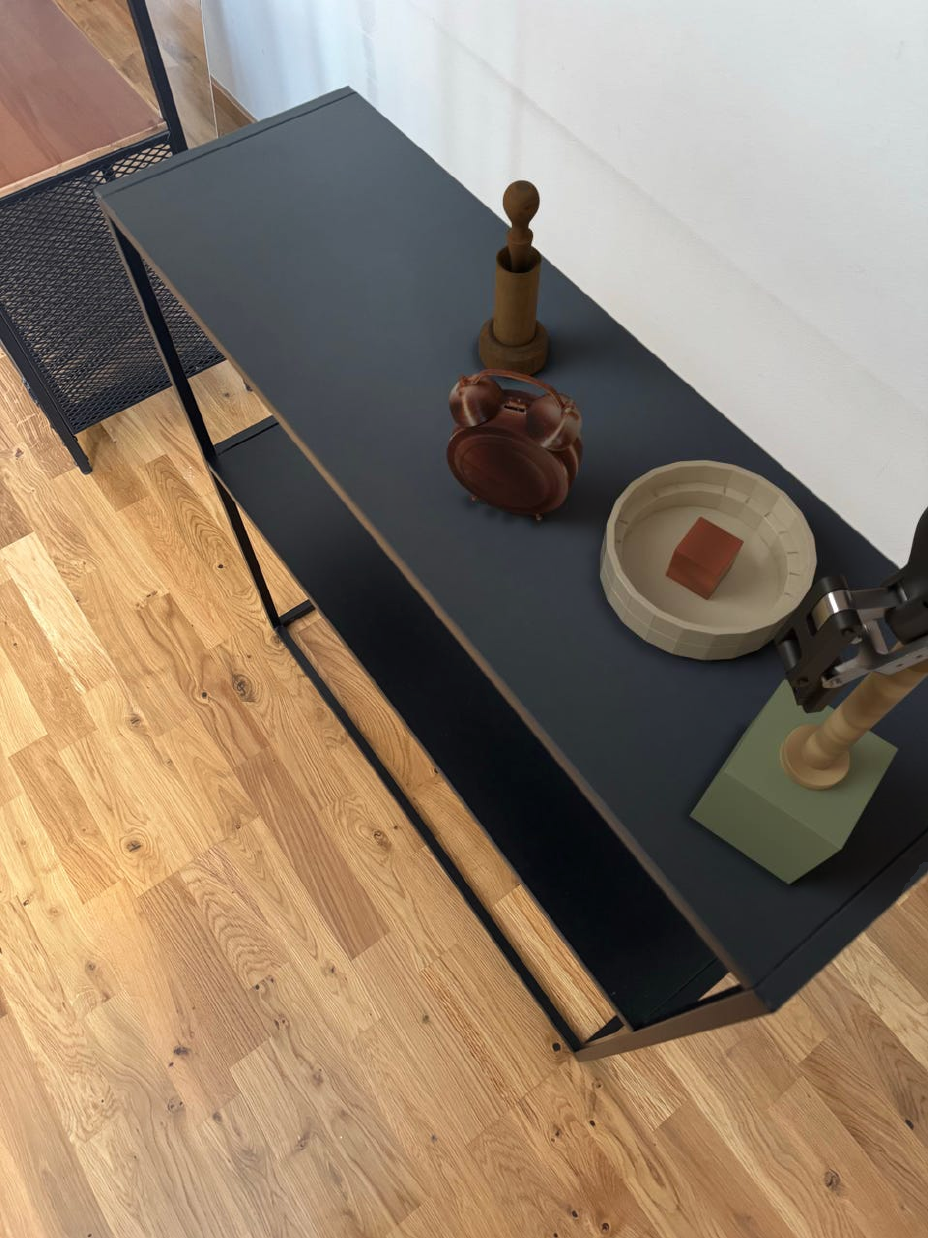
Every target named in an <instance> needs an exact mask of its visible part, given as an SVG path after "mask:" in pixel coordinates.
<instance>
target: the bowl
mask: <svg viewBox="0 0 928 1238" xmlns="http://www.w3.org/2000/svg"><path fill="white" fill-rule="evenodd" d="M699 517H702V518H704V519H706V520H708V521H709V522H711V523H713V524H715V525H716V526H718V527H720V528H722V529H723V530H725V531H727V532H729V533H730V534H732V535H734V536H736V537H737V538H739V539H741V540H743V541H744V543H743V545H742V547H741V549H740V551H739V553H738V555H737V557H736V559H735V561H734V564H733V566H732V568H731V569H730V570H729V572H728V573H727V575H726V576H725V577H724V579H723V580H722V581H721V583H720V584H719V585H718V587H717V588H716V589H715V591H714V592H713V594H712V595H711V596H710V598H709V599H708V600H705V599H704V598H702V597H700V596H699V595H697V594H695V593H694V592H692V591H690V590H689V589H687V588H685V587H684V586H682V585H681V584H679V583H677V582H676V581H674V580H672V579H671V578H669V577H667V576H666V572H667V569H668V566H669V564H670V561H671V558H672V555H673V553H674V550H675V548H676V547H677V546H678V544H679V543H680V542H681V540H682V539H683V538H684V537H685V535H686V534H687V533H688V532H689V530H690V529H691V528H692V526H693V525H694V524H695V523H696V521H697V520H698V519H699ZM599 554H600V555H599V578H600V581H601V584H602V588H603V590H604V593H605V596H606V600H607V601H608V603H609V605H610V606H611V608H612V609H613V610H614V612H615V614H616V615H617V616H618V618H619V619H620V621H621V623H623V624H624V625H625V626H627V627H628V628H629V629H630V630H631V631H632V632H634V633H635V634H636V635H638V637H640V638H641V639H642V640H643V641H645V642H646V643H648V644H651V645H653V646H655V647H657V648H659V649H661V650H663V651H664V652H667V653H670V654H671V655H676V656H680V657H684V658H690V659H695V660H699V661H713V660H730V659H731V660H732V659H735V658H738V657H741V656H744V655H747V654H750V653H752V652H755V651H759V650H760V649H761V648H763V647H764V646H765V645H767V644H768V643H770V642H771V641H772V640H774V636H775V635H776V634H777V632H778V631H779V630H780V629H781V627H782V626H783V625H784V623H785V622H786V621H787V620H788V618H789V617H790V616H791V614H792V613H793V612H794V611H795V609H796V608H797V607H798V605H799V604H800V603H801V602H802V600H803V599H804V598H805V596H806V595H807V594H808V593H809V591H810V590H811V589H812V587H813V581H814V576H815V573H816V568H817V565H818V559H817V551H816V543H815V536H814V533H813V532H812V530H811V528H810V525H809V523H808V521H807V519H806V517H805V515H804V513H803V512H802V510H801V509H800V508H799V507H798V506H797V504H795V502H794V501H793V500H792V499H791V498H790V497H789V495H788V494H787V493H786V492H785V491H783V490H782V489H781V488H779V487H778V486H776V485H775V484H774V483H772V482H771V481H769V480H768V479H766V478H765V477H764V476H762V475H760V474H758V473H755V472H753V471H751V470H749V469H746V468H744V467H741V466H738V465H736V464H731V463H725V462H719V461H714V460H709V459H707V460H706V459H701V460H699V459H698V460H683V461H682V460H681V461H680V460H679V461H676V462H672V463H669V464H666V465H662V466H659V467H655V468H653V469H650V470H649V471H648V472H646V473H645V474H643V475H641V476H639V477H638V478H636V479H635V480H633V481H631V482H630V484H629V485H628V486H627V487H626V488H625V489H624V491H623V492H622V493H621V494H620V495H619V496H618V498H617V499H616V500H615V502H614V504H613V507H612V509H611V512H610V515H609V518H608V520H607V523H606V527H605V531H604V536H603V540H602V545H601V548H600V553H599Z"/></svg>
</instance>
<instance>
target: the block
mask: <svg viewBox="0 0 928 1238" xmlns="http://www.w3.org/2000/svg"><path fill="white" fill-rule="evenodd" d="M743 543H744V541H743V540H741V539H739V538H737V537H736V536H734V535H732V534H730V533H729V532H727V531H725V530H723V529H722V528H720V527H718V526H716V525H715V524H713V523H711V522H709V521H708V520H706V519H704V518H702V517H699V519H698V520H697V521H696V523H695V524H694V525H693V526H692V528H691V529H690V530H689V532H688V533H687V534H686V535H685V537H684V538H683V539H682V540H681V542H680V543H679V544H678V546H677V547H676V548H675V550H674V553H673V555H672V558H671V561H670V564H669V566H668V569H667V572H666V576H667V577H669V578H671V579H672V580H674V581H676V582H677V583H679V584H681V585H682V586H684V587H685V588H687V589H689V590H690V591H692V592H694V593H695V594H697V595H699V596H700V597H702V598H704V599H705V600H708V599H709V598H710V596H711V595H712V594H713V592H714V591H715V589H716V588H717V587H718V585H719V584H720V583H721V581H722V580H723V579H724V577H725V576H726V575H727V573H728V572H729V570H730V569H731V568H732V566H733V564H734V561H735V559H736V557H737V555H738V553H739V551H740V549H741V547H742V545H743Z"/></svg>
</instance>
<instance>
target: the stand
mask: <svg viewBox="0 0 928 1238" xmlns="http://www.w3.org/2000/svg"><path fill="white" fill-rule="evenodd" d="M835 709H836V708H833V707H831V706H830V705H829V704H828V705H827V706H826V707H825V708H824V709H823V711H821V712H815V713H805V712H804V710H803V708H802V705H800V706H797V703H796V700H795V697H794V694H793V691H792V688H791V686H790V685H789V682H788V679H787V678H784V679H783V680H782V681H781V683H780V684H779V685H778V687H777V688H776V690H775V691H774V693H773V694H772V695H771V696H770V698H768V700H767V701H766V703H765V704H764V706H763V707H762V709H760V711H759V713H758V714H757V715H756V717H755V718H754V719H753V721H752V722H751V723H750V724H749V726H748V727H747V729H746V730H745V731H744V733H743V734H742V735H741V737H740V739H739V740H738V742H737V743H736V745H735V746H734V748H733V749H732V751H731V752H730V754H729V755H728V757H727V758H726V760H725V761H724V762H723V765H722V766H721V768H720V769H719V771H718V772H717V774H716V775H715V776H714V778H713V779H712V781H711V783H710V784H709V786H708V787H707V789H706V790H705V792H704V794H703V795H702V796H701V798H700V800H698V802H697V804H696V806H695V807H694V808H693V810H692V811H691V813H690V814H689V817H690V818H692V819H693V820H695V822H697V823H699V824H701V826H703V827H705V828H706V829H707V830H709V831H711V832H712V833H713V834H715V835H717V836H718V837H719V838H721V839H722V840H724V841H725V842H726V843H728V844H729V845H731V846H732V847H734V848H735V849H737V850H738V851H739V852H741V853H742V854H743V855H745V856H747V857H748V858H750V859H751V860H753V861H754V862H755V863H757V864H759V865H760V866H761V867H763V868H764V869H766V870H767V871H768V872H770V873H771V874H773V875H774V876H775V877H777V878H779V879H780V880H781V881H783V882H784V883H786V884H787V885H791V884H792V883H794V882H796V881H797V880H798V879H800V878H801V877H803V876H804V875H806V874H807V873H808V872H810V871H812V870H813V869H815V868H816V867H818V866H819V865H820V864H822V863H824V862H825V861H826V860H827V859H829V858H831V857H832V856H834V855H835V854H837V853H839V852H840V851H841V850H842V849H843V848H844V846H845V844H846V842H847V841H848V839H849V837H850V835H851V833H852V832H853V830H854V828H855V826H856V825H857V823H858V821H859V819H860V818H861V816H862V814H863V813H864V811H865V809H866V807H867V805H868V804H869V802H870V800H871V799H872V797H873V794H875V791H876V789H877V788H878V786H879V784H880V782H881V781H882V779H883V777H884V775H885V774H886V772H887V770H888V768H889V767H890V765H891V763H892V761H893V760H894V758H895V756H896V754H897V752H898V751H899V748H898V747H897V746H895V745H894V744H891V743H890V742H888V741H886V740H885V739H883V738H882V737H880V736H878V735H877V734H875V733H873V732H872V731H870V730H869V731H868V732H866V733H865V734H864V735H863V736H862V737H861V738H860V739H859V740H858V741H857V742H856V743H855V744H854V745H852V746H851V747H850V748H849V749H848V752H849V756H850V766H849V770H848V772H847V774H846V775H845V777H844V778H843V779H842V780H841V781H840V782H838V783H837V784H836V785H835V786H833V787H831V788H829V789H825V790H811V789H807V788H804V787H802V786H800V785H798V784H797V783H795V782H794V781H793V780H792V779H791V778H790V777H789V776H788V775H787V773H786V772H785V770H784V769H783V766H782V764H781V760H780V749H781V746H782V743H783V741H784V740H785V739H786V737H787V736H788V735H789V734H790V733H791V732H792V731H793V730H794V729H796V728H798V727H800V726H804V725H819V726H821V725H822V723H823V722H824V721H825V720H826V719H827V718H828V717H829V716H830V715H831V714H832V713H833V712H834V711H835Z"/></svg>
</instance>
